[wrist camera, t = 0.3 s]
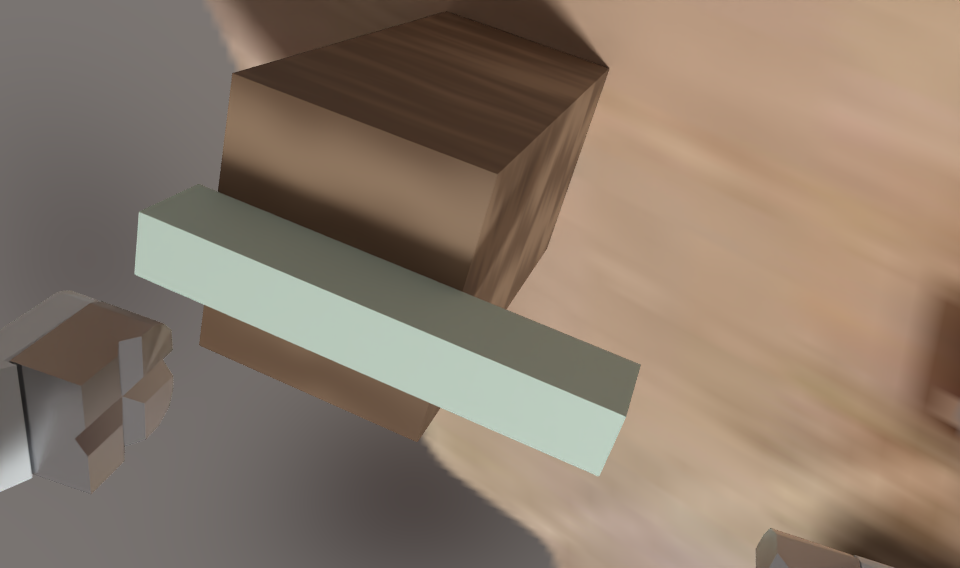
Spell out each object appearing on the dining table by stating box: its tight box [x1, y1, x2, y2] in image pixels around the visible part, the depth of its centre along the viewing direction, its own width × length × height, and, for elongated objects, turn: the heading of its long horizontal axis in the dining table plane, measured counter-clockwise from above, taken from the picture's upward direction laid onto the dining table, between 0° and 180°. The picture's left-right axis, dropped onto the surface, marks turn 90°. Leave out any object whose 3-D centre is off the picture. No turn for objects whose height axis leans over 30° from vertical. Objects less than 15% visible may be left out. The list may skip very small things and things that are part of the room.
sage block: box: [135, 184, 641, 476], centre depth 34 cm, size 3×21×4 cm, turn 74°
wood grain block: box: [199, 11, 609, 442], centre depth 47 cm, size 14×12×26 cm
